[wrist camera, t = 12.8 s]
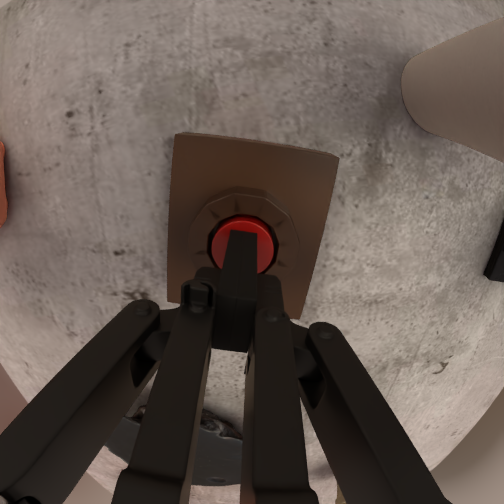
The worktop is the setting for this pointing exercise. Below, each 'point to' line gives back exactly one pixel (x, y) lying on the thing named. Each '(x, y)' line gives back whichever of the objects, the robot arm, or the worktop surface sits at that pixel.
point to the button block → (248, 206)
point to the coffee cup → (461, 89)
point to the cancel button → (248, 225)
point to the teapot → (2, 188)
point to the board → (207, 451)
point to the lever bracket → (496, 259)
